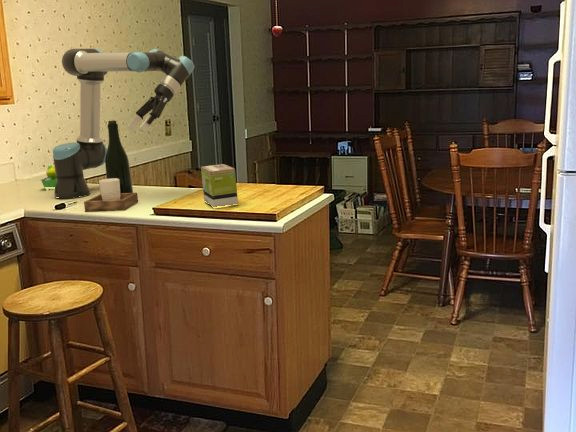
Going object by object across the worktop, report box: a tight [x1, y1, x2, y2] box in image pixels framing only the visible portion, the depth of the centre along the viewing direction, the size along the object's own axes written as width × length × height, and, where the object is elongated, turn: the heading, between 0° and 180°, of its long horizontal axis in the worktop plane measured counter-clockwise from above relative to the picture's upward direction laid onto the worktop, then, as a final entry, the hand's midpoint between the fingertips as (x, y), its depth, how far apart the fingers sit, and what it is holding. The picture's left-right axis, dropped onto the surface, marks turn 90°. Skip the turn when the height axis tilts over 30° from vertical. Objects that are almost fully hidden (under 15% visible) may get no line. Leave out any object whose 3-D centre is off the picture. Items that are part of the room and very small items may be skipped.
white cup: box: [98, 178, 121, 201], centre depth 251 cm, size 8×8×10 cm
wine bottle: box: [104, 120, 134, 193], centre depth 272 cm, size 10×10×33 cm
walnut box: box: [83, 192, 139, 213], centre depth 252 cm, size 16×16×4 cm
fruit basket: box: [40, 165, 57, 188], centre depth 308 cm, size 11×9×11 cm
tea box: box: [200, 163, 239, 207], centre depth 243 cm, size 15×10×15 cm, turn 22°
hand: (135, 129), depth 253 cm, fingers open, 13 cm apart
